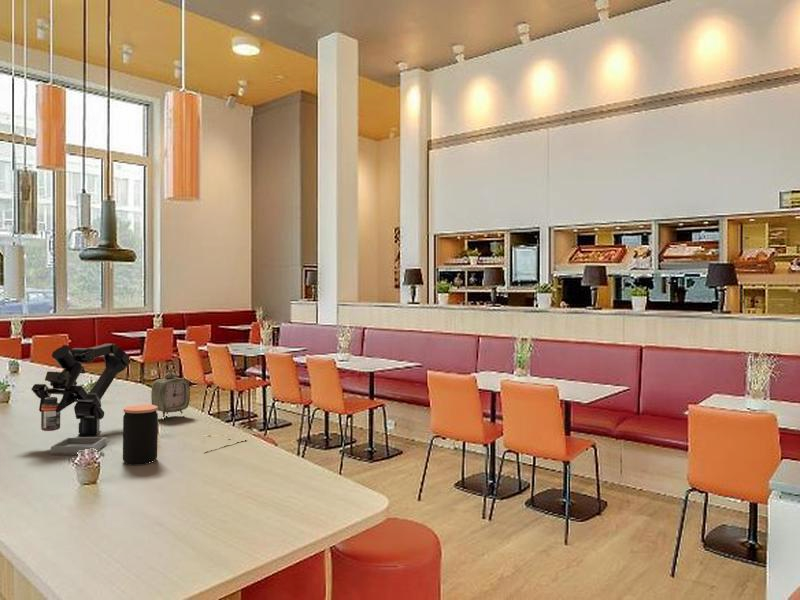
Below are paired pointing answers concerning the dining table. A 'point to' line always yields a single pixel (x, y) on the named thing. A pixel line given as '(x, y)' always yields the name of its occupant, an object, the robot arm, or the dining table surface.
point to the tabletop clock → (170, 392)
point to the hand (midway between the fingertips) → (48, 411)
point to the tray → (77, 445)
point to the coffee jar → (140, 434)
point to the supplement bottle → (50, 415)
